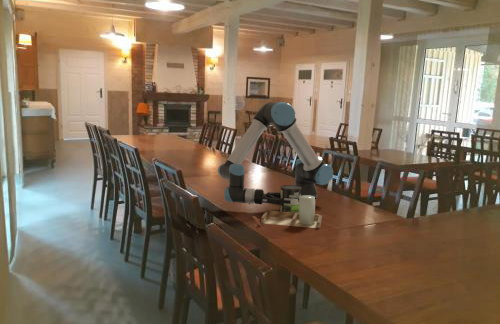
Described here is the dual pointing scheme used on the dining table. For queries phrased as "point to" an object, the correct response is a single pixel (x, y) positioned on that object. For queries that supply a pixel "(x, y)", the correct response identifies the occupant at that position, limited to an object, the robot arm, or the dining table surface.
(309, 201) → the sage jar
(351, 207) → the dining table surface
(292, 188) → the coffee can
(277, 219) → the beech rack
